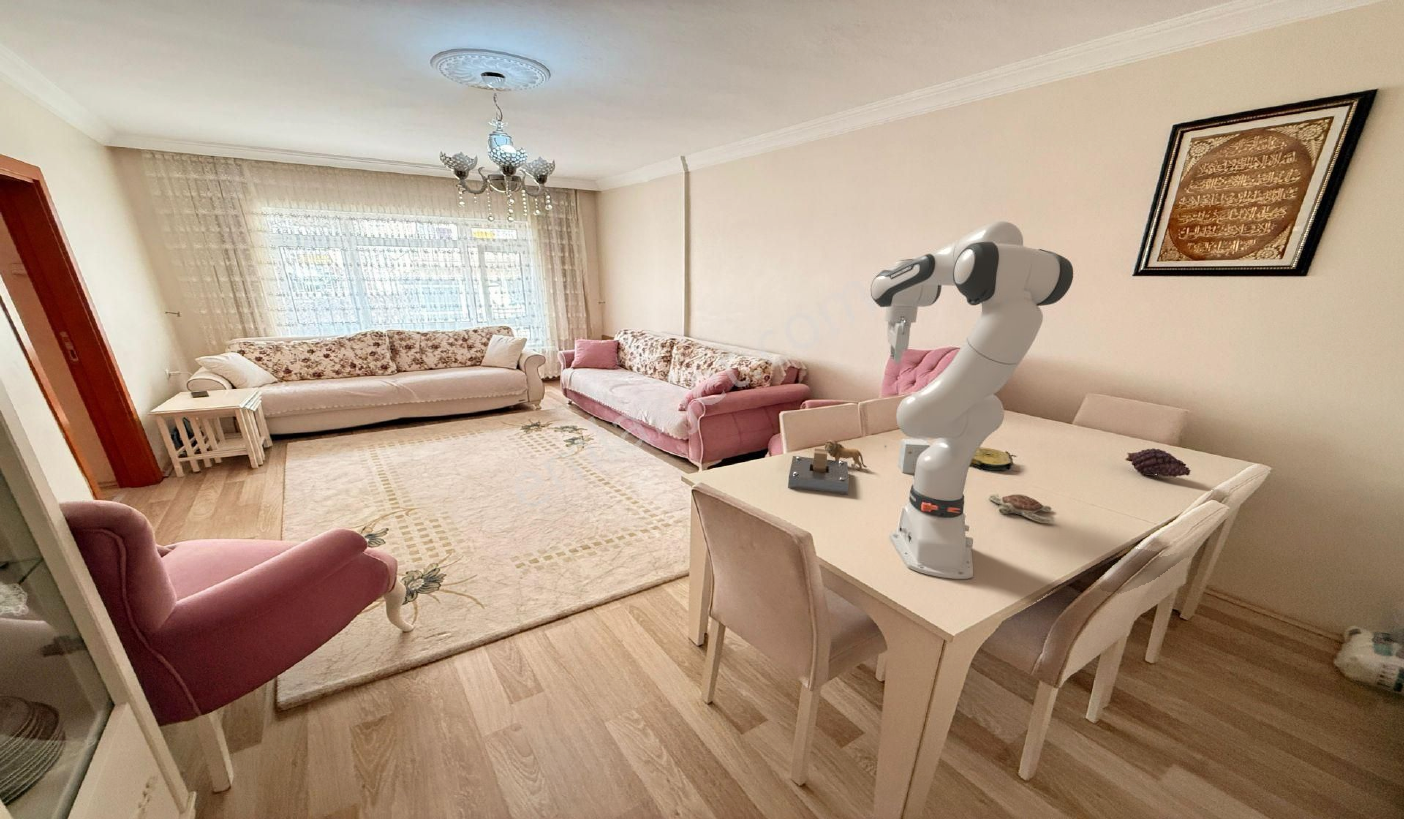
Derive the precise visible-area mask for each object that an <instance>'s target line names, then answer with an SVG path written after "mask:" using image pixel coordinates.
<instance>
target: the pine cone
mask: <svg viewBox="0 0 1404 819" xmlns="http://www.w3.org/2000/svg"><path fill="white" fill-rule="evenodd" d="M1124 460H1125V461H1126V462H1127V461H1128V462H1131V465H1132V466H1133V469H1135V470H1136V471H1137V473H1139V472H1140V473H1139V474H1142V473H1144V474H1157V475H1156V476H1162V477H1173V478H1176V477H1182V476H1189V475H1191V469H1190V468H1189V467H1188V466H1187V464H1186V463H1184V462H1183V461H1182V460H1180V459H1177V457H1175V456H1173V455H1172V454H1171V453H1169V452H1166V450H1161V449H1160V448H1157V449H1156V448H1155V447H1154V448H1146V449H1142V450H1140V451H1138V452H1127V457H1126V458H1125V459H1124Z"/></svg>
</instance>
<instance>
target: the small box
mask: <svg viewBox="0 0 1404 819" xmlns="http://www.w3.org/2000/svg"><path fill="white" fill-rule="evenodd" d="M930 446H931V444H929V443H928V442H927V441H926V440H925V439H915V438H913V439H910V438H909V439H908V438H901V440H900V448H899V456H898V461H897V462H898V463H897V464H898V465H897V468H898V469H899V470H900V471H901V473H902V474H915V470H916V464H917V459H918V457H919V455H920V454H921V453H922V452H923V451H925V450H926V449H927V448H929V447H930Z"/></svg>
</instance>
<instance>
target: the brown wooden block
mask: <svg viewBox="0 0 1404 819" xmlns="http://www.w3.org/2000/svg"><path fill="white" fill-rule="evenodd" d="M813 453H814V454H813V458H814V462H813V471H815V472H823V473H826V463H827V460H828V453H827V450H825V448H824V449H823V448H822V449H821V448H814V452H813Z"/></svg>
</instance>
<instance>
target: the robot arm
mask: <svg viewBox="0 0 1404 819" xmlns="http://www.w3.org/2000/svg"><path fill="white" fill-rule="evenodd" d="M1073 280H1074V268H1073V264H1072V263H1071V261H1070V260H1069V259H1068V258H1066V257H1064V256H1062V255H1060V254H1058V253H1056V252H1054V251H1050V250H1045V249H1041V248H1038V249H1036V248H1032V247H1026V246H1024V237H1023V234H1022V231H1021V230H1020V229H1019V227H1017V226H1016V225H1015V224H1013V223H1011V222H1009V221H1004V220H1003V221H1001V220H1000V221H995V222H992V223H991V222H990V223H988V224H986V225H983V226H981V227H978V228H976V229H974V230H972V231H970V232H969V233H966V234H965V235H964V236H962V237H960V238H958V239H957V240H955V241H953V242H951V243H949V244H947V245H945V246H943V247H941V248H939V249H936V250H934V251H931V252H929V253H926V254H924V255H921V256H919V257H917V258H907V259H901V260H900V259H899V260H898V261H896V262H894V264H893V266H892V270H891V269H888V270H887V269H883V270H882V271H880V272H879V273H878V274H877V275H876V276H875V277H874V278H873V280H872V283H871V285H870V296H871V298H872V300H873V301H874V303H875V304H876V305H877V306H878V307H880V308H885V315H884V316H885V317H884V321H885V322H887V337H886V338H887V342H888V343H889V345H890V347H889V348H890V354H889V358H891V359H893V363H894V364H895V365H900V364H902V363H901V361H902V357H903V354H904V351H908V349H909V343H910V335H911V327H912V323H916V322H917V317H918V316H917V315H918V309H919V308H920V307H922V308H924V307H929V306H932V305H933V304H935V303H936V302H937V301H938V299H939V297H940V295H941V293H942V286H951V287H954V286H955V287H956V289H957V290H958V292H959V293H960V294H962V295H963V297H966V298H965V299H966V302H967V304H968V305H970V306H977V305H980V306H981V312H980V314H981V315H980V317H979V319H978V321H977V322H976V324H975V325H974V326H973V328H972V329H971V331H970V333H969V334H968V336H967V338H966V339H965V341H964V343H963V344H962V345H961V347H960V348H959V350H958V352H957V353H956V354H955V355H954V358H953V359H952V361H951V362H950V363H949V365H947V367H946V368H945V369H944V370H943V371H942V372H941V373H939V374H938V376H936V377H935V378H934V379H933V380H932V381H930V382H929V383H928V384H927V385H925V386H924V387H923V388H922V389H920V390H918V391H916V392H914V393H913V394H910V395H908V396H906V397H904V398H903V399H902V400H901V401H900V403H899V404H898V407H897V410H896V423H897V426H898V427H899V429H900V431H901V432H902V433H903V434H904V435H905V436H906V437H909V438H913V439H917V440H925V441H926V440H927V441H932V440H933V442H932V444H930V447H929V448H927V449H926V450H925V451H923V452H922V453H921V454H920V455H919V457H918V459H917V464H916V470H915V473H914V478H913V483H912V484H911V486H910V490H909V497H908V498H909V499H908V502H907V503H906V504H905V505H903V506H902V507H901V509H900V512H899V518H898V524H897V530H893V531H890V532H889V535H888V536H889V539H890V541H891V542H892V543H893V545H894V547H895V548H896V551H897V553H898V554H899V555H900V558H902V560H903V562H904V564H905V566H906V567H907V568H909V569H911V570H913V571H915V572H918V573H922V574H923V575H924V574H925V575H928V576H932V577H939V578H944V579H953V580H966V579H971V578H974V567H973V566H974V565H973V557H972V548H973V545H974V538H973V537H969V536H966V532H969V531H970V526H969V525H967V524H966V518H967V517H966V516H967V515H966V514H965V513H964V508H965V495H964V490H965V485H966V482H967V476H968V472H969V469H970V467H971V466H970V463H971V461H972V459H973V457H974V455H975V453H976V452H977V450H978V449H979V447H982V446H981V445H982V444H983V443H984V441H986V439H987V438H988V437H989V436H991V435H992V433H994V432H995V431H997V430H998V429H999V428H1000V427H1001V426H1002V424H1003V421H1004V420H1005V418H1004V417H1005V409H1004V405H1003V402H1002V401H1001V400H1000V399H999V397H998V396H997V395H995V394H996V393H998V392H999V391H1000V390H1001V389H1002V388H1003V387H1004V385H1005V384H1006V382H1007V381H1008V380H1009V378H1010V377H1011V375H1012V374H1013V373H1014V371H1015V370H1016V368H1018V366H1019V365H1020V363H1021V361H1023V359H1024V358H1025V356H1026V355H1027V354H1028V352H1029V350H1030V349H1031V347H1032V345H1033V343H1034V342H1035V339H1036V337H1037V336H1038V333H1039V331H1040V329H1041V326H1042V324H1043V321H1044V315H1043V311H1042V309H1041V308H1040V307H1042V306H1049V305H1054V304H1055V303H1058V302H1059V301H1061V299H1062V298H1064V297H1065V296H1066V294H1068V291H1069V290H1070V288H1071V286H1072V283H1073Z"/></svg>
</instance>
